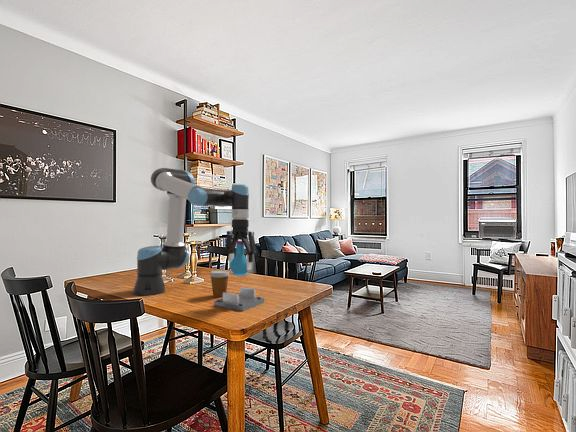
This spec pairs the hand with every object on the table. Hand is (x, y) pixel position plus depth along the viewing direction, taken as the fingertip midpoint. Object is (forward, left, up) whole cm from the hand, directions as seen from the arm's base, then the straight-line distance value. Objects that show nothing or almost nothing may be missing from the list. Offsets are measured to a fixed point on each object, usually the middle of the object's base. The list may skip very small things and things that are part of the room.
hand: (240, 268), depth 145 cm
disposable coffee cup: (-18, +7, -16) cm, 25 cm away
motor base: (0, 0, -16) cm, 16 cm away
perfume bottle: (0, 0, -3) cm, 3 cm away
